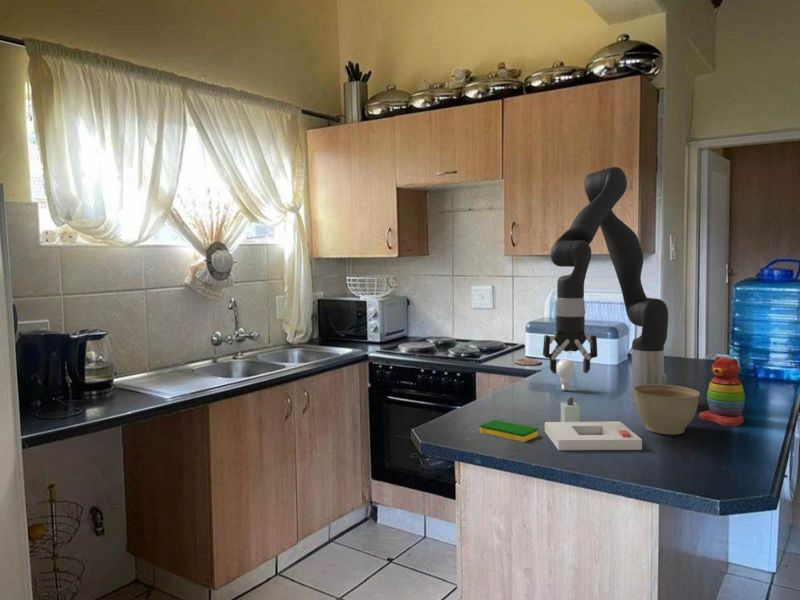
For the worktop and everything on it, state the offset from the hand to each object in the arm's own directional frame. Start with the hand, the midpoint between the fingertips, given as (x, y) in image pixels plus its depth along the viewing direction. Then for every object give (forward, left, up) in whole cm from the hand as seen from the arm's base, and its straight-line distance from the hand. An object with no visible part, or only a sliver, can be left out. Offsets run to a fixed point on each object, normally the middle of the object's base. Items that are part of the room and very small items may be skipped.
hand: (569, 372), depth 168 cm
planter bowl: (-24, +5, -15) cm, 29 cm away
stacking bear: (-44, -4, -15) cm, 47 cm away
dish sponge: (+18, +7, -16) cm, 25 cm away
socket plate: (-2, +13, -15) cm, 20 cm away
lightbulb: (-9, -43, -15) cm, 46 cm away
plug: (0, 0, -15) cm, 15 cm away
